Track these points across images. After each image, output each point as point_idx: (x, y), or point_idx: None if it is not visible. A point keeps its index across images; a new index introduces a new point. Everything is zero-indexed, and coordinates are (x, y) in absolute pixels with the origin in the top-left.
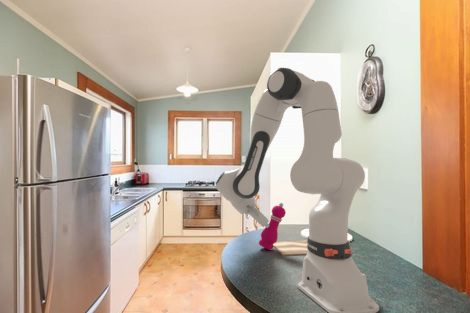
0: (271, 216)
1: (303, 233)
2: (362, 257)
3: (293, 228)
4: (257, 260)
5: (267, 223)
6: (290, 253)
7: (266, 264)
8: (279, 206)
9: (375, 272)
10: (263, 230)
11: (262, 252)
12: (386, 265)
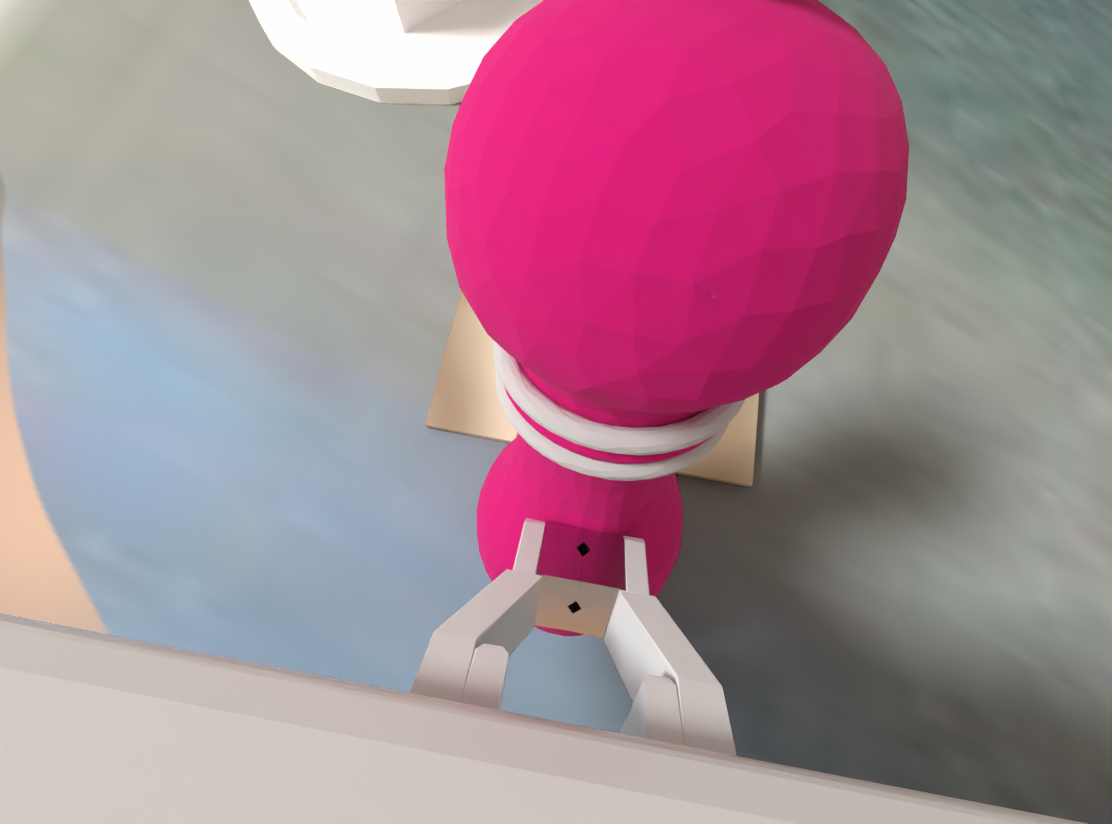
0: (622, 456)
1: (346, 65)
2: (865, 32)
3: (147, 47)
4: (810, 763)
5: (648, 583)
6: (749, 412)
7: (907, 720)
8: (820, 36)
9: (1079, 118)
10: None
11: None
12: (990, 10)
